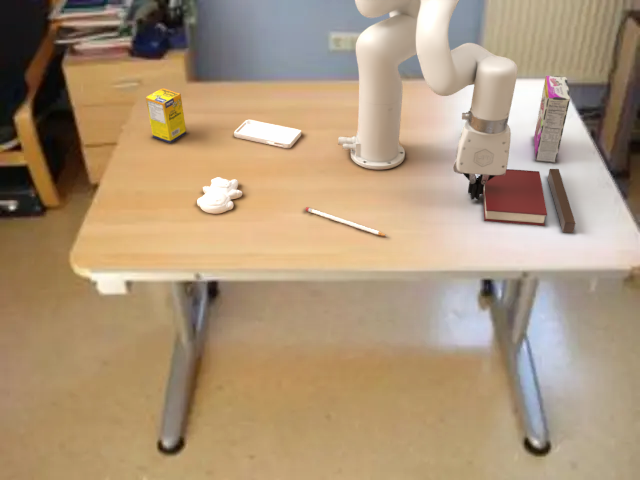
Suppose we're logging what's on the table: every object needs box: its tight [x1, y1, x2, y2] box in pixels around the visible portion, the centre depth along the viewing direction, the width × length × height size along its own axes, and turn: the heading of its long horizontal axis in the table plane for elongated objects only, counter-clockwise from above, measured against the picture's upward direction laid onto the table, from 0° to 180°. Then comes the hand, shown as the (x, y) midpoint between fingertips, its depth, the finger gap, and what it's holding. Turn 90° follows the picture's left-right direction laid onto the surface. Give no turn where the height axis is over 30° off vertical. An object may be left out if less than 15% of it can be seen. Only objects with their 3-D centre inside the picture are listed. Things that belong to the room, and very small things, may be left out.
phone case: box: [233, 119, 302, 149], centre depth 173 cm, size 7×1×15 cm
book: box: [482, 168, 548, 227], centre depth 150 cm, size 12×16×3 cm
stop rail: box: [547, 168, 576, 234], centre depth 149 cm, size 2×20×2 cm, turn 174°
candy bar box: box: [533, 75, 571, 164], centre depth 162 cm, size 11×5×16 cm, turn 168°
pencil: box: [305, 206, 387, 237], centre depth 144 cm, size 1×19×1 cm, turn 60°
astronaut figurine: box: [196, 176, 243, 215], centre depth 151 cm, size 9×12×3 cm
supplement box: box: [145, 87, 187, 144], centre depth 170 cm, size 6×6×11 cm
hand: (474, 195), depth 151 cm, fingers closed
